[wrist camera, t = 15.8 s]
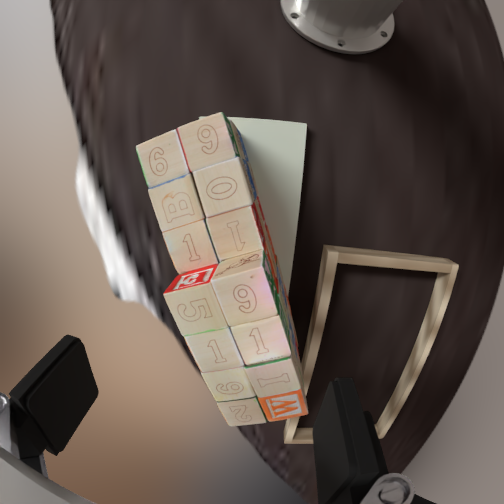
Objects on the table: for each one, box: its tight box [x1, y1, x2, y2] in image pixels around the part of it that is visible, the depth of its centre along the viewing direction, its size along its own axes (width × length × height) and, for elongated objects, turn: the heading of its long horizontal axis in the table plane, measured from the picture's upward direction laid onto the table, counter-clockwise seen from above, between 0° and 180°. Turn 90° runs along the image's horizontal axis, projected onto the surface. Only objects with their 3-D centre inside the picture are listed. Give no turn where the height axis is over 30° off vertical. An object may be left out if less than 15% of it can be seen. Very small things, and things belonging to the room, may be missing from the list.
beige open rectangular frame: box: [284, 245, 459, 444], centre depth 30 cm, size 29×16×2 cm, turn 175°
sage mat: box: [199, 117, 307, 296], centre depth 28 cm, size 26×10×1 cm, turn 175°
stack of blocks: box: [136, 112, 308, 426], centre depth 21 cm, size 21×6×12 cm, turn 16°
